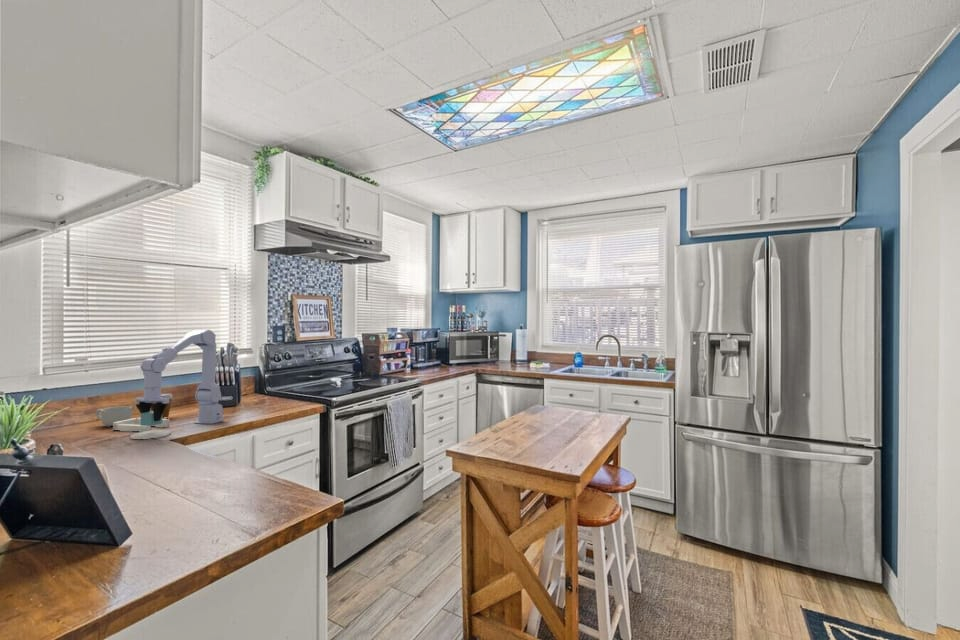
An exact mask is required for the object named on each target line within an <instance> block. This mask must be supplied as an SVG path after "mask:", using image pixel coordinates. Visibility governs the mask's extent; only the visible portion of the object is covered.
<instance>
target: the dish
mask: <svg viewBox="0 0 960 640" xmlns="http://www.w3.org/2000/svg"><path fill="white" fill-rule="evenodd" d="M171 434H172V433H171V430H168V429H156V430H155V429H154V430H151V431H145V432H135V433H133V434H131V435H130V438H133V439H143V438H156V439H160V438H165V437H168V436H170V435H171Z"/></svg>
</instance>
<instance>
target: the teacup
mask: <svg viewBox="0 0 960 640" xmlns="http://www.w3.org/2000/svg"><path fill="white" fill-rule="evenodd" d="M100 412H101V413H100ZM132 414H133V407H132V406H130V405H128V406H127V405H125V406H123V405H120V406H111V407H105V408H99V409H97V410H96V411H95V416H96V418H97V419H99V420H101V424H102V425H104V426H105V427H107V426H108V428H111V427H110V426H113V422H118V421H123V420H128V419H132V417H133V415H132Z"/></svg>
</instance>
